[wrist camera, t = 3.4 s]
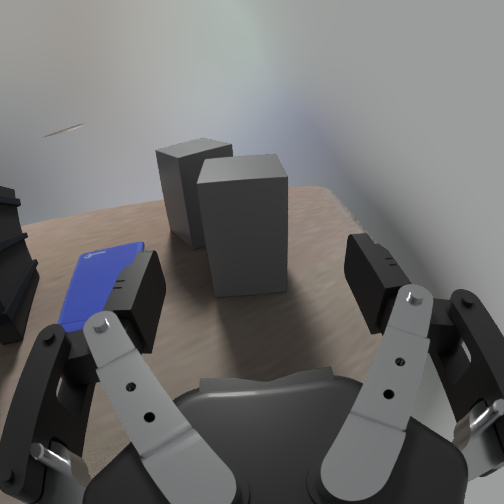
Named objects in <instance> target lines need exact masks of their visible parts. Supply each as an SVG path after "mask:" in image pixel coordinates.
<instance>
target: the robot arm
mask: <svg viewBox="0 0 504 504" xmlns="http://www.w3.org/2000/svg"><path fill="white" fill-rule="evenodd" d="M344 273H345V278H346V280H347V282H348V284H349V286H350V289H351V291H352V293H353V295H354V297H355V299H356V301H357V304H358V306H359V308H360V310H361V312H362V315H363V317H364V319H365V321H366V324H367V326H368V328H369V330H370V333H371V335H372V334H377V333H382V336H383V338H382V340H381V343H380V346H379V348H378V351H377V353H376V356H375V358H374V360H373V363H372V365H371V368H370V370H369V372H368V375H367V377H366V379H365V381H364V384H362V383H361V382H359V381H356V380H354V379H351V378H347V377H342V376H334V375H333V372H332V368H331V367H325V368H318V369H311V370H304V371H299V372H296V373H293V374H290V375H287V376H284V377H281V378H278V379H275V380H272V381H269V382H261V381H254V380H246V379H240V378H233V377H229V378H205V379H200V387H199V388H197V389H194V390H191V391H188V392H186V393H184V394H182V395H180V396H179V397H177V398H175V399H174V400H173V401H172V400H171V398H170V397H169V396H168V394H167V393H166V392H165V390H164V389H163V387H162V386H161V384H160V383H159V382H158V380H157V379H156V377H155V376H154V374H153V373H152V371H151V370H150V368H149V367H148V365H147V364H146V362H145V361H144V359H143V358H142V356H141V355H142V353H146V354H152V349H153V345H154V340H155V336H156V331H157V327H158V323H159V319H160V314H161V310H162V306H163V302H164V298H165V294H166V283H165V279H164V275H163V272H162V268H161V265H160V261H159V258H158V255H157V252H156V251H155V250H153V251H143V252H138V253H137V254H136V257H135V259H134V261H133V263H132V264H128V265H127V266H126V267H125V268H124V269H123V270H122V271H121V272H120V273H119V275H118V277H117V279H116V282H115V284H114V286H113V289H112V290H111V292H110V295H109V297H108V299H107V301H106V304H105V306H104V308H103V310H102V311H101V312H98V313H96V314H94V315H92V316H91V317H90V318H89V319H88V320H87V321H86V323H85V324H84V328H83V329H80V330H77V331H73V332H69V333H66V331H65V329H64V328H63V327H62V326H61V325H59V324H52V325H49V326H47V327H46V328H44V329H43V330H42V331H41V332H40V333H39V334H38V336H37V338H36V340H35V343H34V345H33V347H32V349H31V352H30V354H29V356H28V359H27V361H26V364H25V366H24V369H23V371H22V374H21V377H20V379H19V382H18V385H17V388H16V390H15V393H14V396H13V399H12V402H11V405H10V409H9V412H8V415H7V418H6V422H5V425H4V429H3V433H2V437H1V441H0V489H1V490H2V491H3V492H4V493H6V494H8V495H10V496H12V497H14V498H16V499H18V500H21V501H22V502H23V503H25V504H464V498H465V492H466V488H467V483H468V482H469V481H471V480H473V479H475V478H476V477H485V476H487V475H489V474H491V473H493V472H495V471H496V470H498V469H500V468H501V467H503V466H504V337H503V335H502V333H501V332H500V330H499V328H498V327H497V325H496V324H495V322H494V320H493V319H492V317H491V316H490V314H489V313H488V311H487V310H486V308H485V307H484V305H483V304H482V303H481V301H480V300H479V298H478V297H477V296H476V295H475V294H473V293H472V292H470V291H467V290H464V289H458V290H456V291H454V292H453V293H452V295H451V298H450V300H444V299H434V298H433V297H432V295H431V293H429V291H428V290H426V289H425V288H423V287H421V286H418V285H413V284H411V282H410V281H409V279H408V278H407V276H406V275H405V273H404V272H403V271H402V269H401V268H400V266H399V265H397V262H396V261H395V259H393V257H392V255H391V254H390V253H389V251H388V250H387V249H385V248H384V247H382V246H381V245H380V244H374V242H373V241H372V240H371V238H370V237H369V235H368V234H367V233H361V234H350V235H349V236H348V240H347V247H346V255H345V263H344ZM463 341H464V342H465V344H466V346H467V348H468V350H469V352H470V354H471V363H470V361H469V359H468V357H467V355H466V353H465V351H464V349H463V348H462V343H463ZM427 353H429V354H430V356H431V358H432V361H433V363H434V365H435V368H436V370H437V372H438V375H439V377H440V380H441V382H442V384H443V387H444V389H445V392H446V394H447V397H448V400H449V403H450V405H451V408H452V410H453V413H454V416H455V419H456V422H457V424H456V426H455V429H454V439H453V441H452V443H451V442H450V441H448V440H446V439H445V438H443V437H442V436H440V435H439V434H437V433H436V432H434V431H432V430H431V429H429V428H428V427H426V426H425V425H423V424H422V423H420V422H419V421H417V420H416V419H414V418H413V417H411V416H410V414H411V412H412V408H413V405H414V402H415V399H416V396H417V392H418V389H419V385H420V382H421V377H422V374H423V370H424V366H425V362H426V357H427ZM60 377H61V378H62V382H61V386H60V389H59V393H58V396H56V390H57V386H58V383H59V379H60ZM97 382H101V384H102V386H103V388H104V390H105V392H106V394H107V397H108V399H109V401H110V403H111V405H112V407H113V409H114V411H115V412H116V414H117V416H118V418H119V420H120V422H121V424H122V426H123V427H124V429H125V431H126V433H127V434H128V436H129V438H130V440H131V442H130V443H129V444H128V445H127V446H126V447H125V448H124V449H123V450H122V451H121V452H120V453H119V454H118V455H117V456H116V457H115V458H114V459H113V460H112V461H111V462H110V463H109V464H108V465H107V466H106V467H105V468H104V469H102V470H101V471H100V472H99V473H98V474H97V475H96V476H95V477H94V478H93V479H92V480H91V477H90V475H89V474H88V467H87V465H86V463H85V461H84V460H83V459H82V453H83V446H84V440H85V434H86V428H87V422H88V417H89V412H90V407H91V402H92V397H93V393H94V388H95V384H96V383H97Z"/></svg>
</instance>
